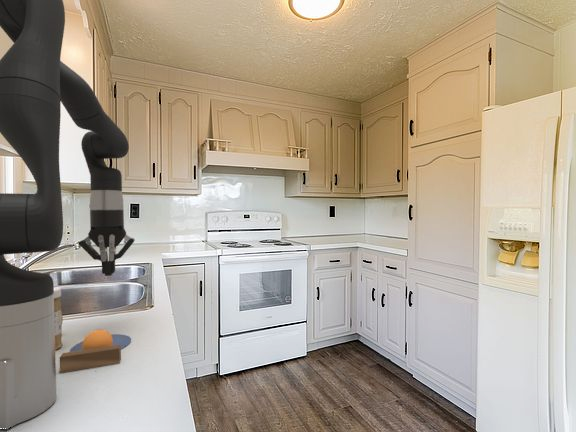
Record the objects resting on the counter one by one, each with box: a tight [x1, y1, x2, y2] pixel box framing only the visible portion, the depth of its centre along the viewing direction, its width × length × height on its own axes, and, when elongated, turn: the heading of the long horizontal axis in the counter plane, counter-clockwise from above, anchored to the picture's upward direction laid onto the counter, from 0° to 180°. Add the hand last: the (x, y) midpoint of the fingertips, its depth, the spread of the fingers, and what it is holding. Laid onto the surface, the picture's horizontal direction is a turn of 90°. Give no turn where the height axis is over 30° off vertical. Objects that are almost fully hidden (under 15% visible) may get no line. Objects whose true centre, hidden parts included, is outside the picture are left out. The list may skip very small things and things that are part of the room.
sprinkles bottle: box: [53, 286, 63, 351], centre depth 70 cm, size 5×5×14 cm
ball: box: [82, 329, 113, 350], centre depth 66 cm, size 6×6×6 cm
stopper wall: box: [59, 344, 122, 374], centre depth 62 cm, size 2×10×3 cm, turn 111°
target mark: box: [69, 333, 132, 352], centre depth 71 cm, size 12×12×1 cm
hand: (108, 275), depth 81 cm, fingers closed
